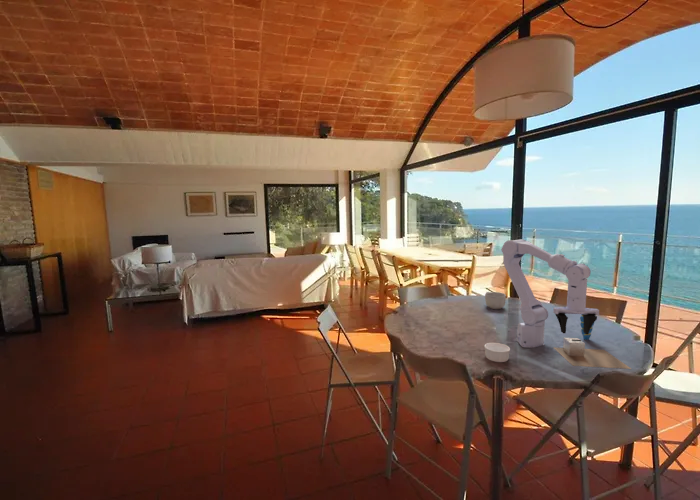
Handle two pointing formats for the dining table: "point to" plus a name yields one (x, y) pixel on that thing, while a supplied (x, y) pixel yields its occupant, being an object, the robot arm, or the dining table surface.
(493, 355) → the ramekin
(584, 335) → the ornament
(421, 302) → the dining table surface
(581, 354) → the beige cube
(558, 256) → the robot arm
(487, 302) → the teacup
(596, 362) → the board
